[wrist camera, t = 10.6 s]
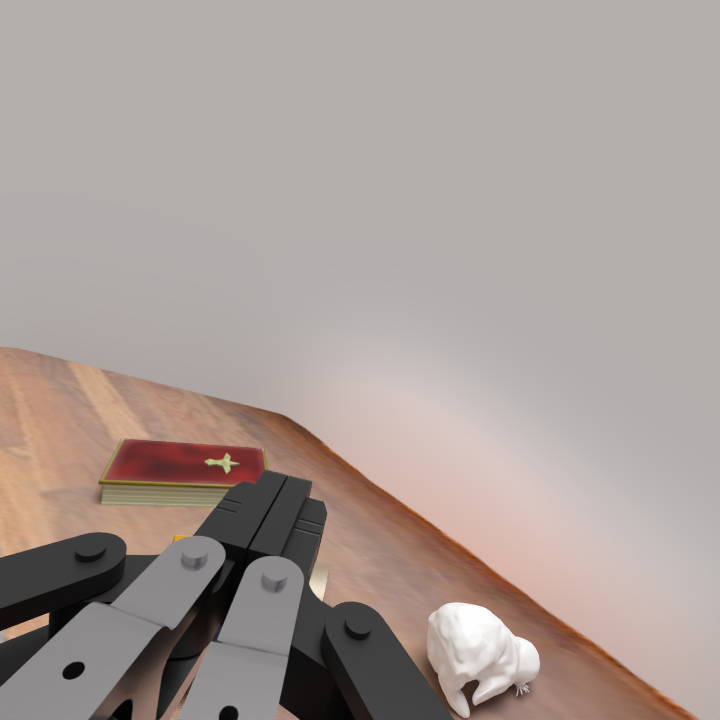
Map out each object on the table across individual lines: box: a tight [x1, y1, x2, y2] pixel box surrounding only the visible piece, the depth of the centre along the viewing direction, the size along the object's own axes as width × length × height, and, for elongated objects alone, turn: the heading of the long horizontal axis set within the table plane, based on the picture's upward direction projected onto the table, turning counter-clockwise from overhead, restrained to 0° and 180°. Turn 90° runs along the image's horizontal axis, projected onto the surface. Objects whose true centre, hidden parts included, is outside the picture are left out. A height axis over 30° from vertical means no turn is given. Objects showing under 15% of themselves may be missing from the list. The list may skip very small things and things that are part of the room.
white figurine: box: [427, 603, 540, 718], centre depth 40 cm, size 6×8×12 cm
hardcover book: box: [99, 439, 268, 507], centre depth 61 cm, size 12×21×4 cm, turn 106°
